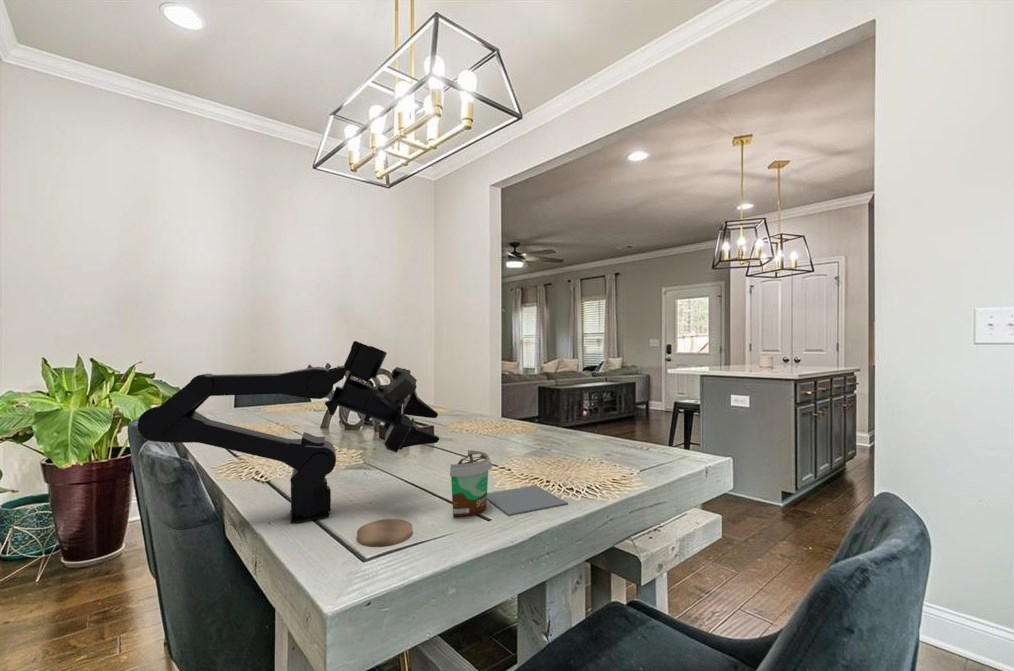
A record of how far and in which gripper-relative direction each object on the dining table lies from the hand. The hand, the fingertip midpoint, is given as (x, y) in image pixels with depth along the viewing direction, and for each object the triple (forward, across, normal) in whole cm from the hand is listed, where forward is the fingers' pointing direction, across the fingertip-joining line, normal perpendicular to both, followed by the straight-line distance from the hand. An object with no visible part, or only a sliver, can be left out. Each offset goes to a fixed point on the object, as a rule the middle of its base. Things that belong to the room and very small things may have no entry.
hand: (437, 427), depth 98 cm
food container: (+11, -13, +6) cm, 18 cm away
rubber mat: (+20, -10, +3) cm, 23 cm away
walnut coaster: (-5, -21, +10) cm, 24 cm away
